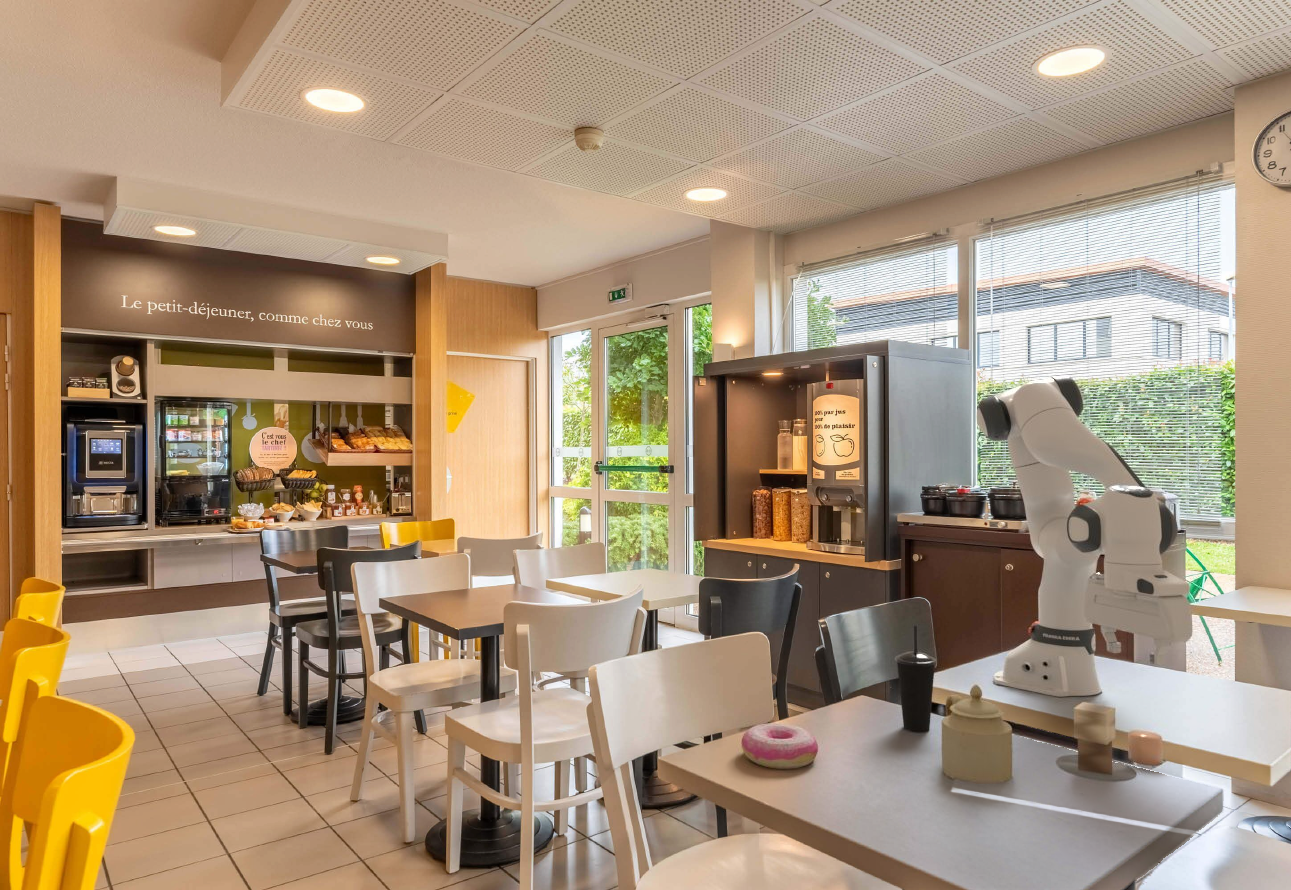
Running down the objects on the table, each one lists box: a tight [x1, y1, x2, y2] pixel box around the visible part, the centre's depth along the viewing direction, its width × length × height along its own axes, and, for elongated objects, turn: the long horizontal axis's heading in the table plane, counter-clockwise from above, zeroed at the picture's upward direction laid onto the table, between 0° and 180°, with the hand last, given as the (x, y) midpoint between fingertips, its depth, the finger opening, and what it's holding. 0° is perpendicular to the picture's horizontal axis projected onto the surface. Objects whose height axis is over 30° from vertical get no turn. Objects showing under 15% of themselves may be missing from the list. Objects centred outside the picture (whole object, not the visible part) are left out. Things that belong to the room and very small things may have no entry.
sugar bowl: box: [941, 684, 1013, 784], centre depth 141 cm, size 15×11×15 cm
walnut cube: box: [1077, 739, 1113, 775], centre depth 140 cm, size 5×5×5 cm
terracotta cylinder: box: [1127, 729, 1163, 767], centre depth 143 cm, size 5×5×5 cm
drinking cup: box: [894, 625, 937, 733], centre depth 163 cm, size 8×8×20 cm
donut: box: [740, 722, 819, 770], centre depth 147 cm, size 14×13×5 cm
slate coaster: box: [1055, 754, 1138, 782], centre depth 140 cm, size 12×12×1 cm
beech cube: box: [1073, 701, 1116, 745], centre depth 140 cm, size 5×5×5 cm
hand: (1135, 658), depth 144 cm, fingers open, 8 cm apart
